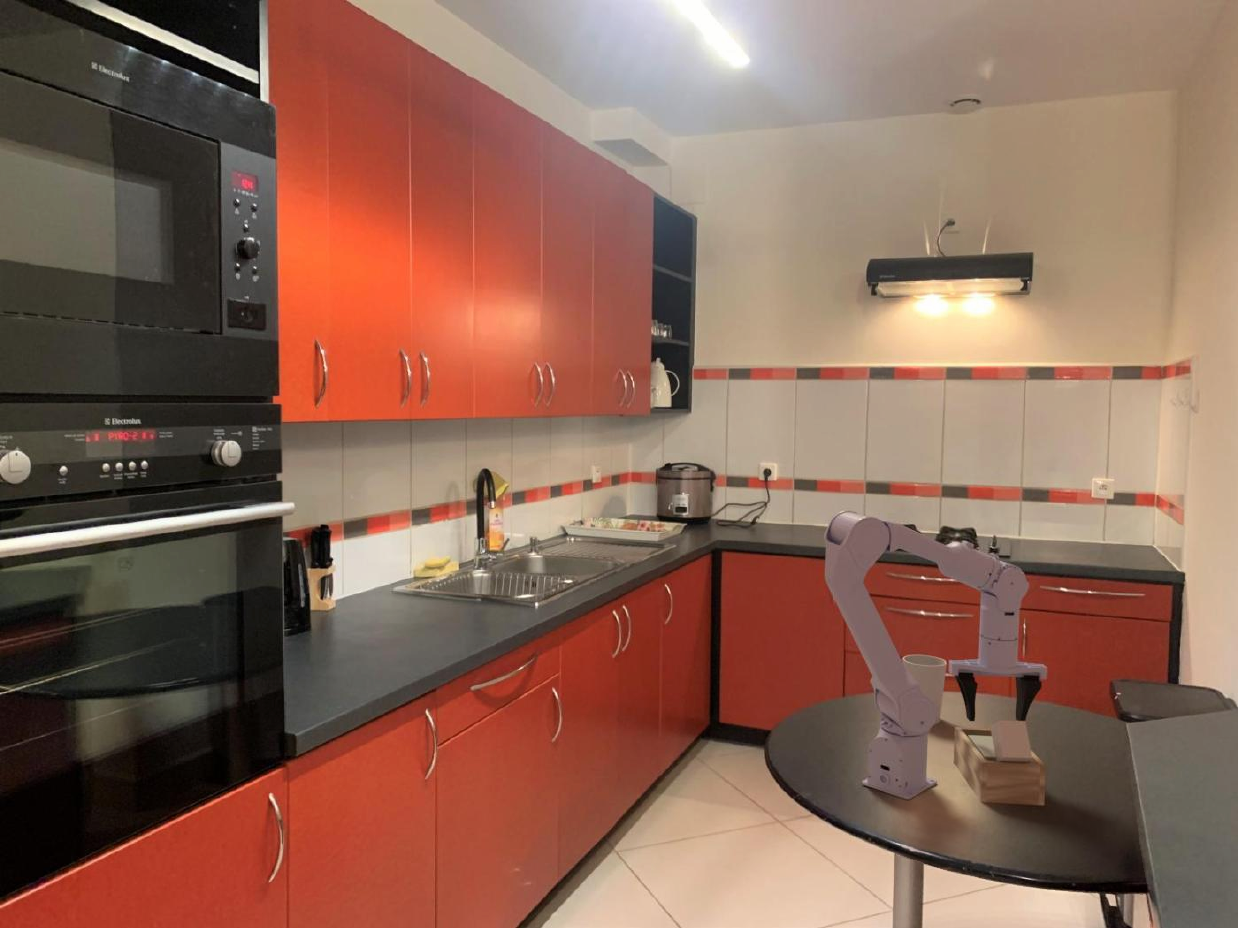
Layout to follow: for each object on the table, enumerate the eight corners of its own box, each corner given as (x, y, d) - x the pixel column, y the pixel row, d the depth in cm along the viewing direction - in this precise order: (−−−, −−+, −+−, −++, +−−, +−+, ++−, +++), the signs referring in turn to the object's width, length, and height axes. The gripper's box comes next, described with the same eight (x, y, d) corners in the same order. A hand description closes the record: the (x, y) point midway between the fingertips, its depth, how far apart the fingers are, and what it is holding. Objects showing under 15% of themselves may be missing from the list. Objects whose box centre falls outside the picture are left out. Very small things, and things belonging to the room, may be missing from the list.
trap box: (1044, 807, 134) (1045, 765, 133) (980, 804, 135) (982, 762, 134) (1010, 768, 149) (1012, 729, 148) (953, 765, 150) (955, 727, 149)
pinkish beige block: (1032, 757, 133) (1025, 720, 136) (1004, 756, 133) (997, 720, 136) (1024, 764, 136) (1017, 728, 139) (996, 763, 136) (990, 727, 139)
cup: (936, 715, 175) (939, 655, 174) (950, 730, 167) (952, 666, 166) (895, 714, 175) (897, 654, 174) (907, 728, 167) (909, 665, 166)
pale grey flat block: (1029, 782, 137) (1030, 758, 136) (983, 780, 137) (984, 755, 137) (1010, 759, 146) (1011, 736, 145) (967, 757, 146) (968, 734, 146)
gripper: (1037, 632, 145) (1033, 714, 146) (945, 628, 147) (942, 709, 148) (1053, 643, 138) (1049, 729, 139) (956, 639, 140) (953, 724, 141)
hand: (995, 720), depth 143 cm, fingers open, 7 cm apart
